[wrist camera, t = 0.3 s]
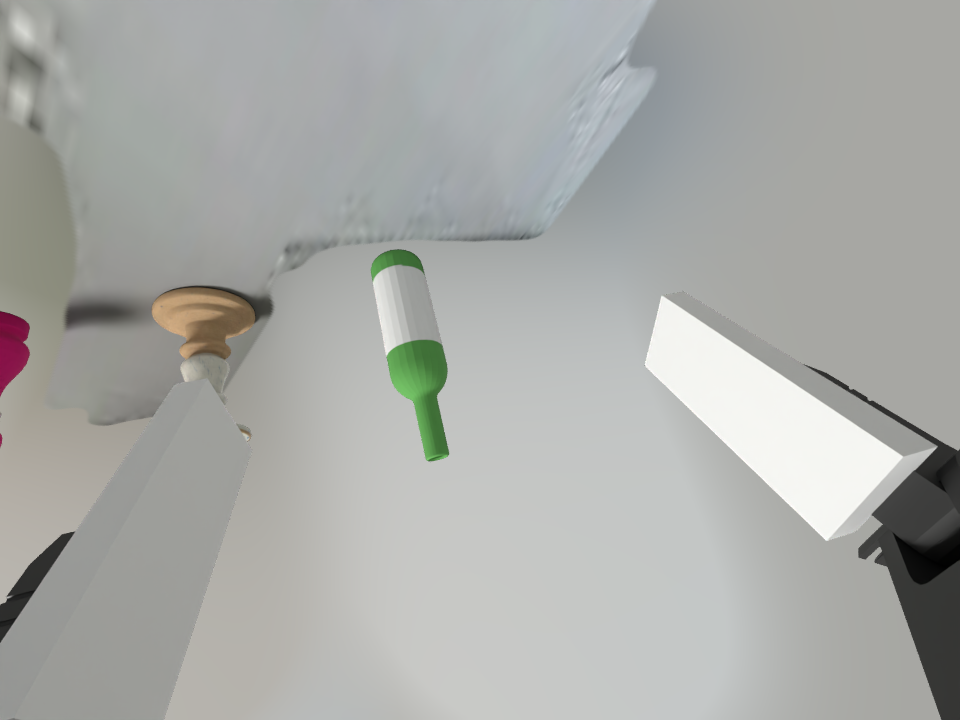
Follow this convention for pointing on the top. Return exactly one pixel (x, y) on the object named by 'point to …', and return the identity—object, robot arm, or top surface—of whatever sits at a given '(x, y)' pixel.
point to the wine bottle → (412, 341)
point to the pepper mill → (12, 348)
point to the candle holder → (205, 331)
